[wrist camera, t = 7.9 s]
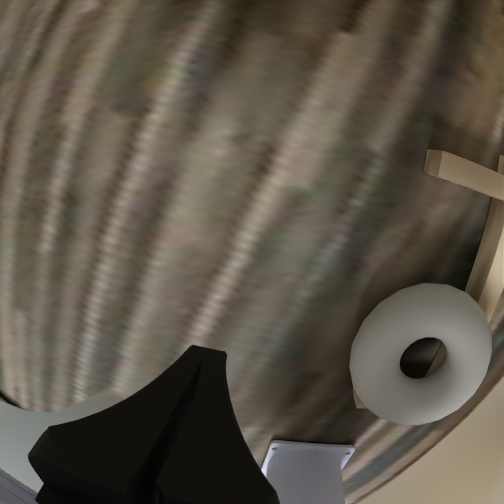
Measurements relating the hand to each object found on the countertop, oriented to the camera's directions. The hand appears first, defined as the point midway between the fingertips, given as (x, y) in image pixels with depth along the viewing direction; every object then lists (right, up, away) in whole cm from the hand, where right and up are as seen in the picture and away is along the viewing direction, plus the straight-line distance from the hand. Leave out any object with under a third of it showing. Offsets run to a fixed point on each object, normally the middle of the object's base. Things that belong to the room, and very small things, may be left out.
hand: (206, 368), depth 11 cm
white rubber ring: (+9, +1, +6) cm, 11 cm away
